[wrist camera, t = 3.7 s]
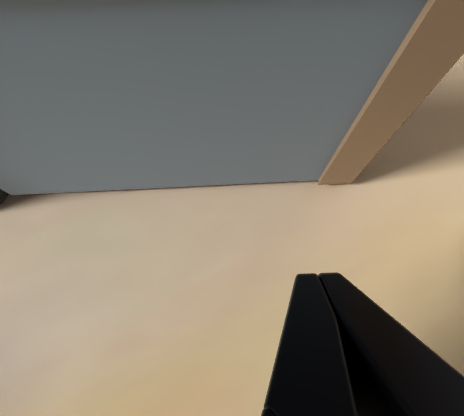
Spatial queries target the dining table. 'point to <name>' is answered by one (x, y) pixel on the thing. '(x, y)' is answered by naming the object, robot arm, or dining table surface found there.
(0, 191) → the hinge post
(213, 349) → the dining table surface
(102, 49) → the gate
